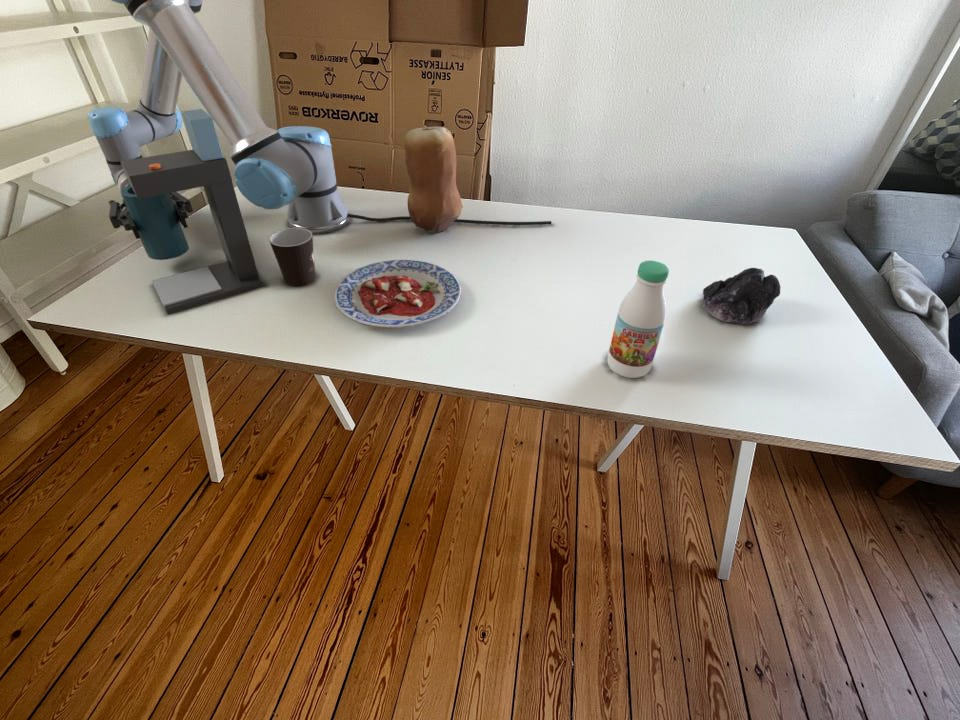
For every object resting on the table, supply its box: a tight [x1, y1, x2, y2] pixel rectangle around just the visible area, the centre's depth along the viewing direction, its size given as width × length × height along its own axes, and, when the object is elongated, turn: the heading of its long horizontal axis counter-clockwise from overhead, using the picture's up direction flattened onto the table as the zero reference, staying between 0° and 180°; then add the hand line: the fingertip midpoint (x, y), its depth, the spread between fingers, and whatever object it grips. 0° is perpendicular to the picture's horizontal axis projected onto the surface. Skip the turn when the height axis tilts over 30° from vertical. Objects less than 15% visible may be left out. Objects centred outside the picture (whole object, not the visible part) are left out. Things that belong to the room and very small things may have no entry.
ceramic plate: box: [333, 259, 462, 329], centre depth 107 cm, size 26×26×3 cm
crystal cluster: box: [702, 267, 782, 325], centre depth 105 cm, size 13×14×10 cm
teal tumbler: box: [120, 185, 190, 261], centre depth 110 cm, size 8×8×14 cm
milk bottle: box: [606, 259, 670, 379], centre depth 87 cm, size 8×8×20 cm
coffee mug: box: [268, 227, 316, 288], centre depth 111 cm, size 12×9×10 cm
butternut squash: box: [403, 125, 464, 234], centre depth 126 cm, size 14×13×25 cm
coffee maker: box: [120, 108, 265, 315], centre depth 100 cm, size 13×19×33 cm
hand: (160, 226), depth 107 cm, fingers closed on teal tumbler, 8 cm apart
